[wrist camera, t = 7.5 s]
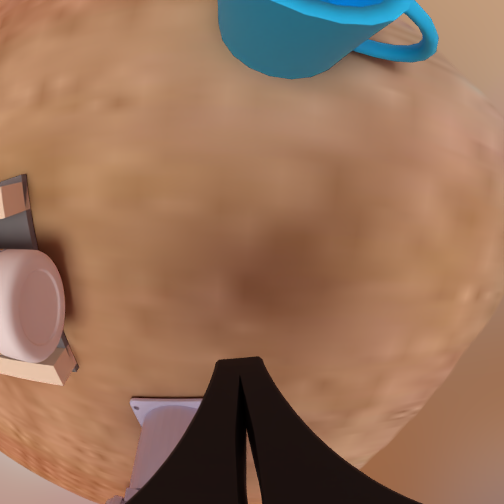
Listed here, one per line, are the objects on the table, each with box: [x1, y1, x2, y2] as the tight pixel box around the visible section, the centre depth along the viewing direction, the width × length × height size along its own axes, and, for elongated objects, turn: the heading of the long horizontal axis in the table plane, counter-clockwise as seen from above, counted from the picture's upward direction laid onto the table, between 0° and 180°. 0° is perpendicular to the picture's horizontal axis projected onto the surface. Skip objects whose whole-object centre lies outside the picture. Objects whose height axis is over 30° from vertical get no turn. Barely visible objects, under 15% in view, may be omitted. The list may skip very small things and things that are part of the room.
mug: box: [218, 0, 439, 79], centre depth 10 cm, size 12×8×8 cm
